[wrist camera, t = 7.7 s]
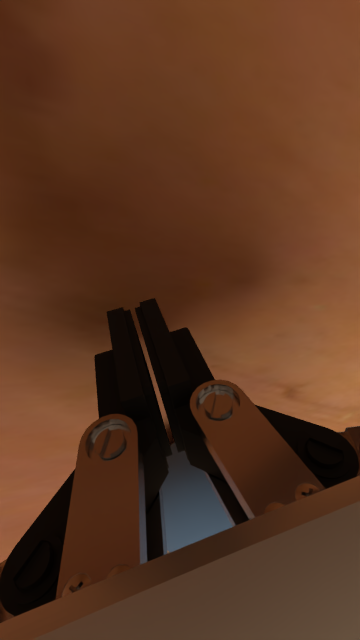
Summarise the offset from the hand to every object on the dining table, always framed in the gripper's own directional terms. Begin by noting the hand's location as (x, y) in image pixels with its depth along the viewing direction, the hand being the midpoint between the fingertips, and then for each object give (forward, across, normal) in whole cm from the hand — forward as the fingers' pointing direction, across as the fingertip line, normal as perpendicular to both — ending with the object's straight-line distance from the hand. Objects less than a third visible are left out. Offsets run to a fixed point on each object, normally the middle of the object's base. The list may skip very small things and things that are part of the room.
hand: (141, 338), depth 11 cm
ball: (-2, -1, +10) cm, 10 cm away
